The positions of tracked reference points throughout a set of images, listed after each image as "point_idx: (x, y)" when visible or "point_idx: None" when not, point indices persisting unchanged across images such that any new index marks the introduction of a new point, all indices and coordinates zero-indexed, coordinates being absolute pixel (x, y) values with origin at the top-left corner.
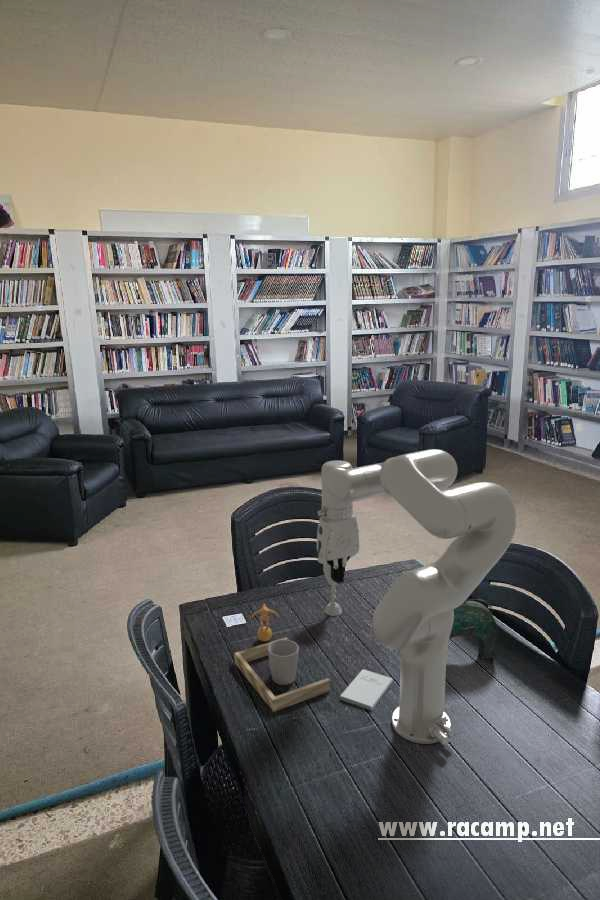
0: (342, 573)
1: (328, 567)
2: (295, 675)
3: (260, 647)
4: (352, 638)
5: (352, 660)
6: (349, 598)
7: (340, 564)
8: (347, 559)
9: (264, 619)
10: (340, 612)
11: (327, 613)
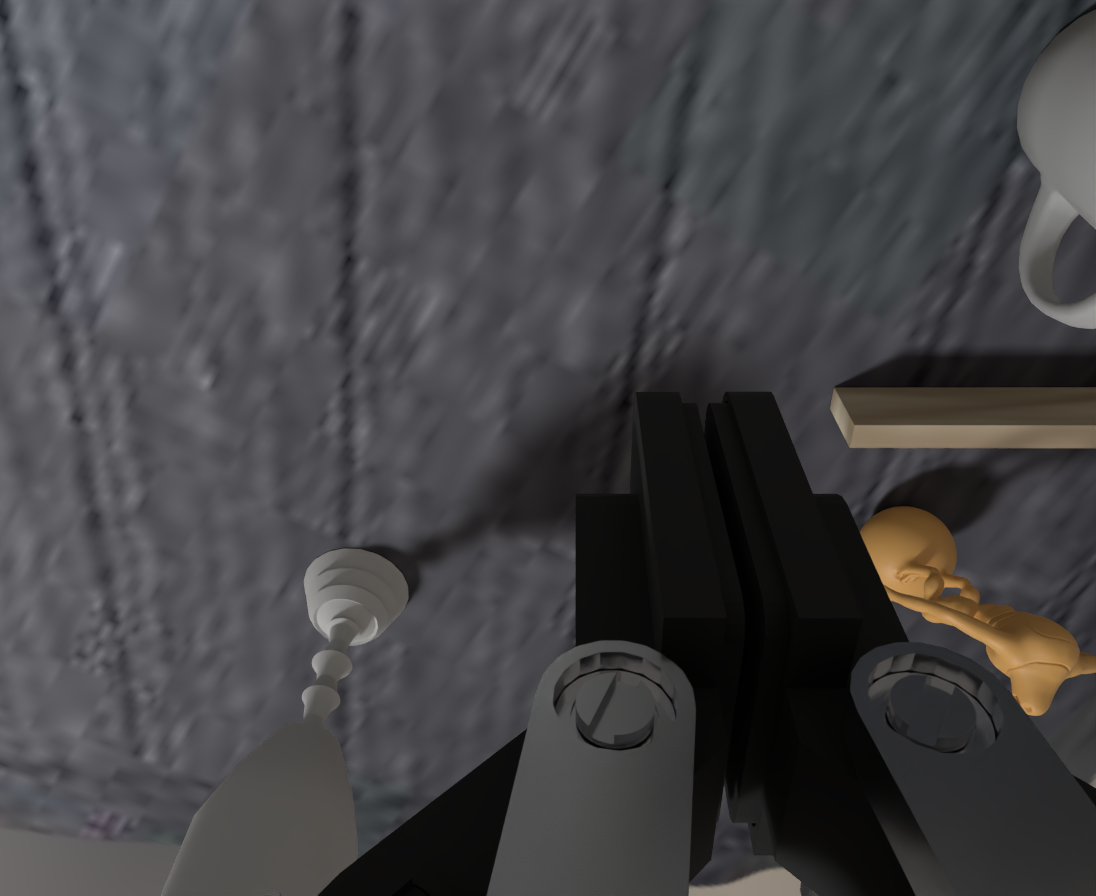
0: (685, 507)
1: (326, 879)
2: (1077, 31)
3: (1074, 425)
4: (389, 290)
5: (535, 37)
6: (201, 653)
7: (712, 754)
8: (437, 852)
9: (999, 605)
10: (323, 561)
11: (403, 585)
